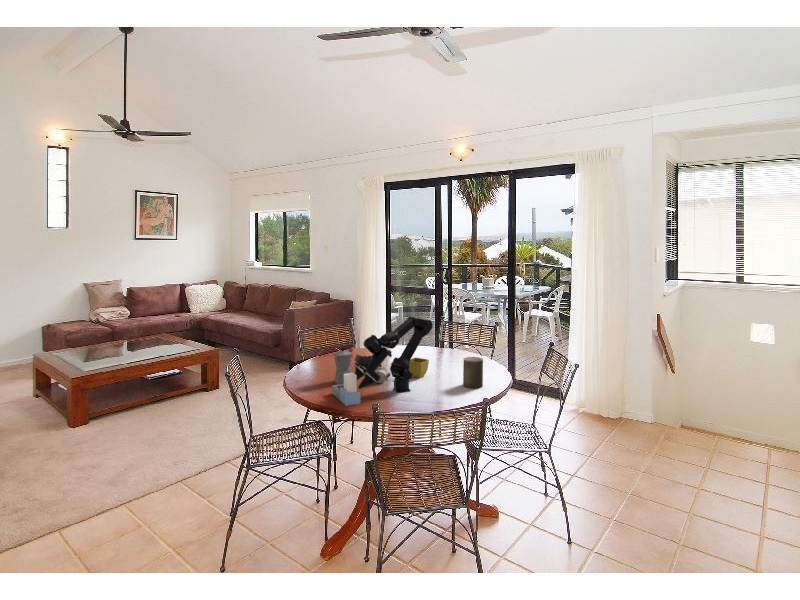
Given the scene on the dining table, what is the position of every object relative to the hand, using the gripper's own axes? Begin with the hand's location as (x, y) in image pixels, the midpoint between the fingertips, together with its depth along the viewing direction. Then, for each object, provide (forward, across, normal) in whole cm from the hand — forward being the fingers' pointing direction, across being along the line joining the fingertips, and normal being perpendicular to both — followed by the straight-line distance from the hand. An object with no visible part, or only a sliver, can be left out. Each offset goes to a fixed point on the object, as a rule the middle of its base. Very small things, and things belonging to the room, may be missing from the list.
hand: (355, 385), depth 220 cm
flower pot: (-25, -22, +36) cm, 49 cm away
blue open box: (+7, -9, +3) cm, 11 cm away
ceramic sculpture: (-10, -24, +22) cm, 34 cm away
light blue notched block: (+7, 0, +3) cm, 8 cm away
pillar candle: (-37, +4, +49) cm, 61 cm away
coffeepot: (+2, -30, +9) cm, 32 cm away
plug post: (+7, 0, +3) cm, 7 cm away
